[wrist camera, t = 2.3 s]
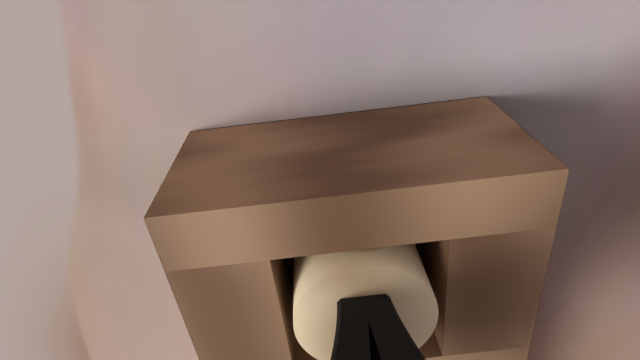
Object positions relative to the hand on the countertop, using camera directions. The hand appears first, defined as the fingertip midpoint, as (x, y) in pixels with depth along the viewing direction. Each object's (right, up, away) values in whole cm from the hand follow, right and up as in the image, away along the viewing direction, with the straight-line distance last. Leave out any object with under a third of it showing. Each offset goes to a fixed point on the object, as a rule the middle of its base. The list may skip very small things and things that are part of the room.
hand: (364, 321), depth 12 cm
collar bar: (0, -2, +8) cm, 8 cm away
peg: (0, +2, +4) cm, 5 cm away
